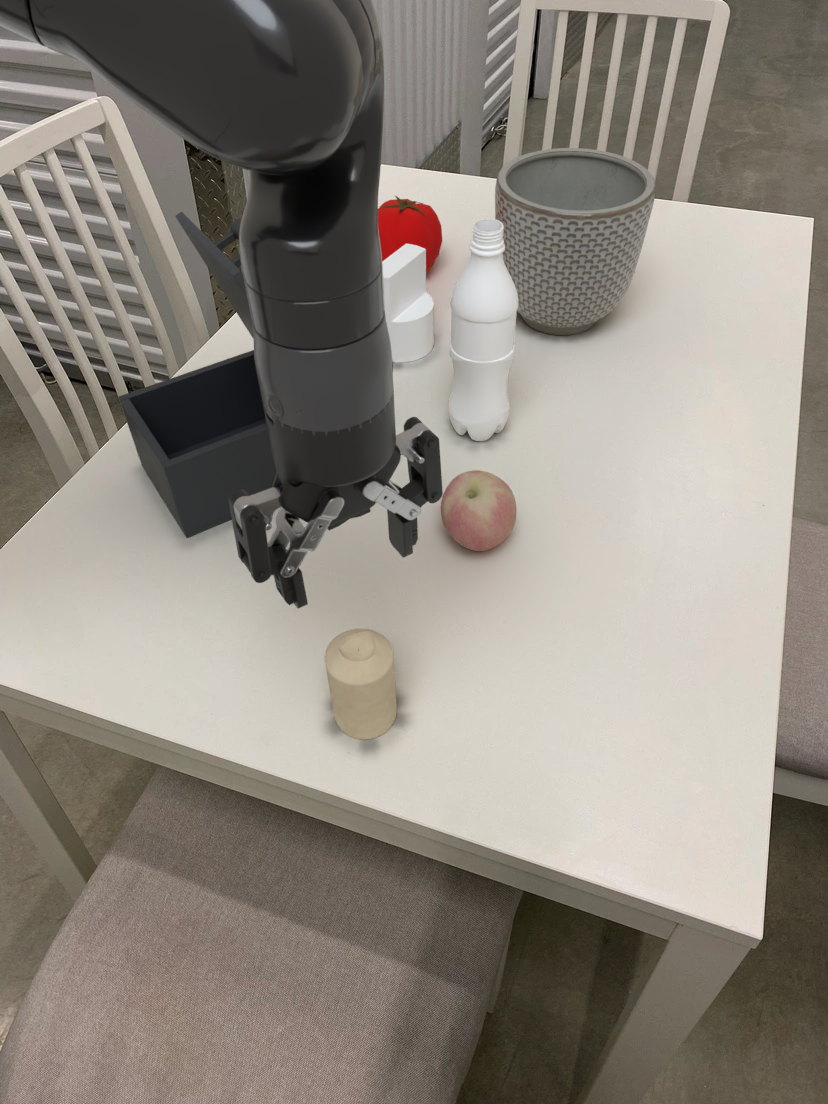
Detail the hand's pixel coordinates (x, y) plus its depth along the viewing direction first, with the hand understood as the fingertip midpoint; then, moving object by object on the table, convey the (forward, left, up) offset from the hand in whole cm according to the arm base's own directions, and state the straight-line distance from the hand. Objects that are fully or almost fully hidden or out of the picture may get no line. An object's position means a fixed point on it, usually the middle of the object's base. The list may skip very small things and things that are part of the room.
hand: (349, 573), depth 58 cm
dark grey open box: (+14, +33, -18) cm, 40 cm away
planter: (+65, +22, -19) cm, 71 cm away
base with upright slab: (+46, +35, -19) cm, 61 cm away
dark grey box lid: (+19, +31, 0) cm, 37 cm away
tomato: (+61, +47, -19) cm, 79 cm away
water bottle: (+38, +16, -19) cm, 45 cm away
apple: (+23, +5, -19) cm, 30 cm away
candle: (0, 0, -19) cm, 19 cm away
